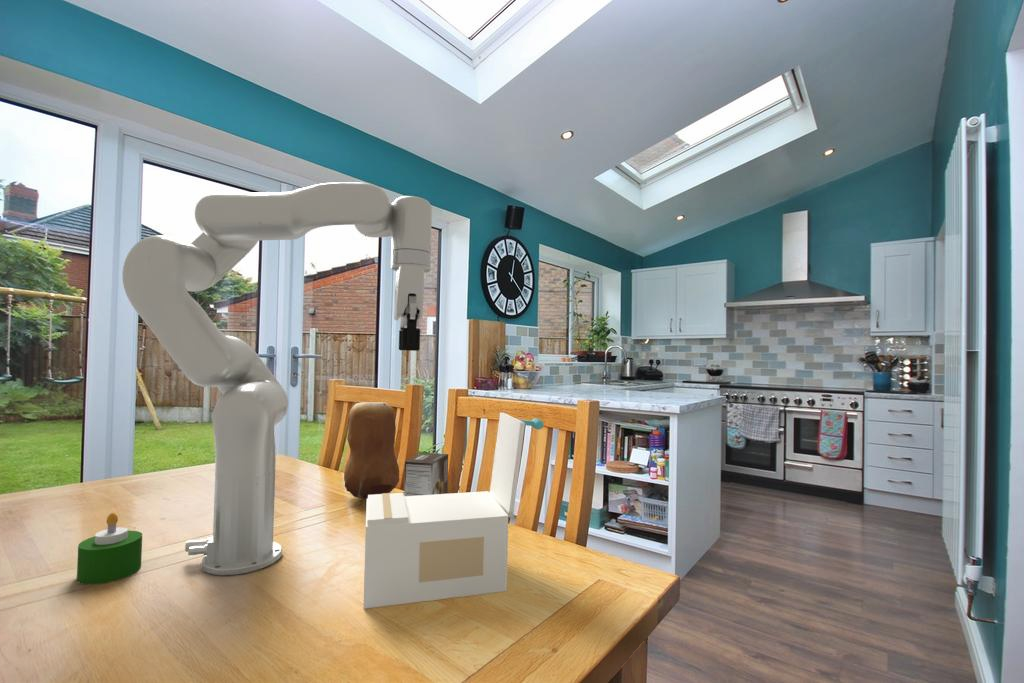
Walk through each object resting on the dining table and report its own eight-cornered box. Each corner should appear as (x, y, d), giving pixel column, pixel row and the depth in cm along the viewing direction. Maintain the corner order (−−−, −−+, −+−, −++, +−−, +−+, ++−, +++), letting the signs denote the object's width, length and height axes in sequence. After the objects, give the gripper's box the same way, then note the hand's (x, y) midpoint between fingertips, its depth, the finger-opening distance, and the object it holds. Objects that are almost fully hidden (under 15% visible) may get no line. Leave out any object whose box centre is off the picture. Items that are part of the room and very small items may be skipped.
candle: (88, 566, 83) (91, 507, 83) (147, 559, 86) (149, 502, 86) (67, 588, 75) (69, 524, 75) (132, 579, 78) (134, 517, 79)
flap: (520, 421, 79) (555, 424, 80) (499, 411, 91) (530, 414, 93) (507, 517, 78) (543, 519, 80) (488, 494, 90) (520, 496, 92)
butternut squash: (376, 488, 132) (378, 397, 133) (409, 497, 125) (411, 401, 125) (331, 500, 121) (334, 401, 122) (364, 511, 113) (367, 405, 114)
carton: (363, 609, 71) (365, 521, 71) (364, 567, 84) (366, 493, 85) (506, 591, 77) (508, 510, 77) (486, 555, 90) (488, 486, 91)
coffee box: (419, 525, 105) (421, 451, 106) (447, 528, 104) (449, 453, 104) (402, 541, 96) (404, 460, 97) (432, 544, 95) (434, 463, 95)
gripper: (389, 268, 101) (387, 350, 100) (393, 252, 84) (390, 350, 84) (425, 270, 103) (423, 350, 102) (436, 255, 86) (433, 351, 86)
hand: (408, 350), depth 93 cm, fingers open, 9 cm apart
